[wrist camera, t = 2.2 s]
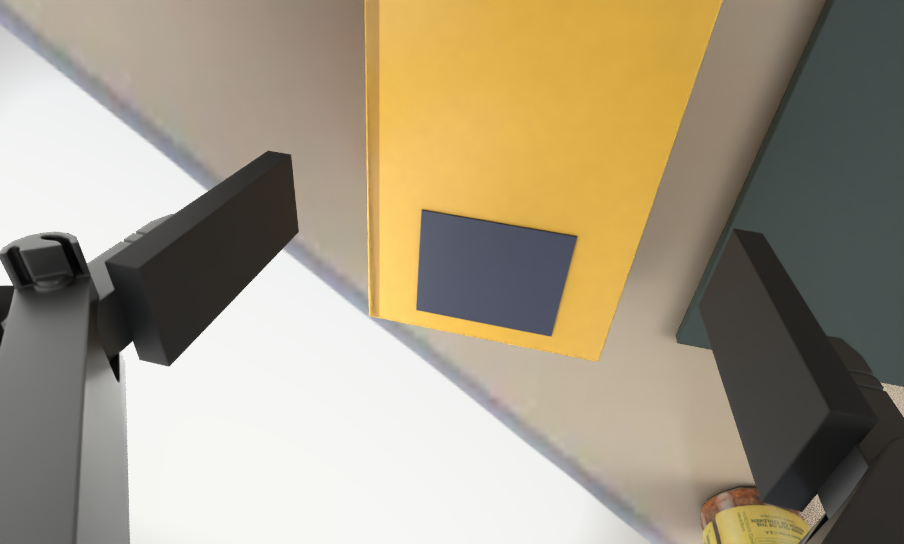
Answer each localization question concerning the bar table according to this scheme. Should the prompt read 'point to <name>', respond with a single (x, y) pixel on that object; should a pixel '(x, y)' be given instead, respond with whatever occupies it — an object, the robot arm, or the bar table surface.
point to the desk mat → (836, 185)
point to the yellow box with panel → (519, 158)
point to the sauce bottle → (749, 520)
